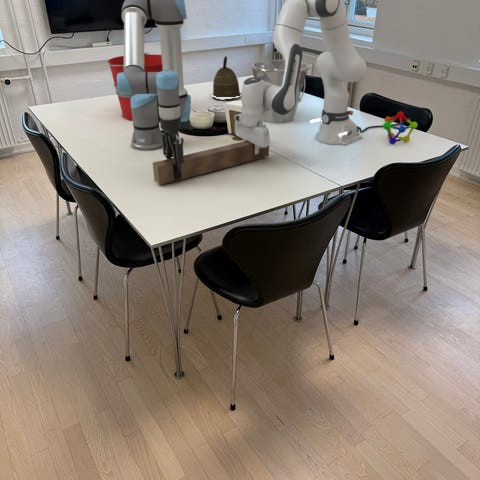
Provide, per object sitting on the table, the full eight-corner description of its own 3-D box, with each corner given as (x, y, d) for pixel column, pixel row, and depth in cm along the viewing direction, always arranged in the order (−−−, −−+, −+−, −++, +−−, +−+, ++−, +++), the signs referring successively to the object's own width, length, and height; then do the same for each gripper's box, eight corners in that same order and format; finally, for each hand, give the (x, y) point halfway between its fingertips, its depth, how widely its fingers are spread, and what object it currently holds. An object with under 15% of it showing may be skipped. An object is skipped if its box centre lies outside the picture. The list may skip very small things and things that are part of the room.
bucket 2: (277, 130, 226) (280, 73, 211) (239, 117, 245) (239, 64, 230) (315, 118, 243) (320, 65, 228) (277, 107, 261) (279, 57, 247)
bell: (227, 105, 294) (202, 96, 282) (238, 66, 289) (213, 55, 277) (243, 108, 280) (217, 98, 268) (255, 66, 275) (229, 55, 263)
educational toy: (377, 146, 209) (379, 114, 202) (384, 138, 219) (386, 107, 211) (411, 149, 202) (415, 116, 195) (417, 141, 212) (420, 109, 204)
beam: (159, 184, 167) (157, 166, 163) (154, 180, 170) (152, 162, 166) (268, 156, 193) (269, 139, 189) (262, 152, 196) (263, 136, 192)
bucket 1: (122, 105, 263) (114, 51, 248) (180, 106, 263) (177, 52, 247) (105, 123, 234) (95, 63, 218) (171, 124, 233) (166, 64, 217)
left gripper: (191, 121, 155) (194, 182, 168) (168, 109, 167) (172, 166, 180) (172, 125, 152) (177, 187, 164) (149, 112, 164) (156, 171, 176)
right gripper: (274, 124, 176) (272, 157, 183) (244, 112, 190) (244, 143, 197) (261, 127, 173) (260, 160, 180) (232, 114, 187) (232, 146, 194)
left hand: (174, 176), depth 172 cm, fingers closed on beam, 5 cm apart
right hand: (251, 151), depth 189 cm, fingers closed on beam, 4 cm apart
